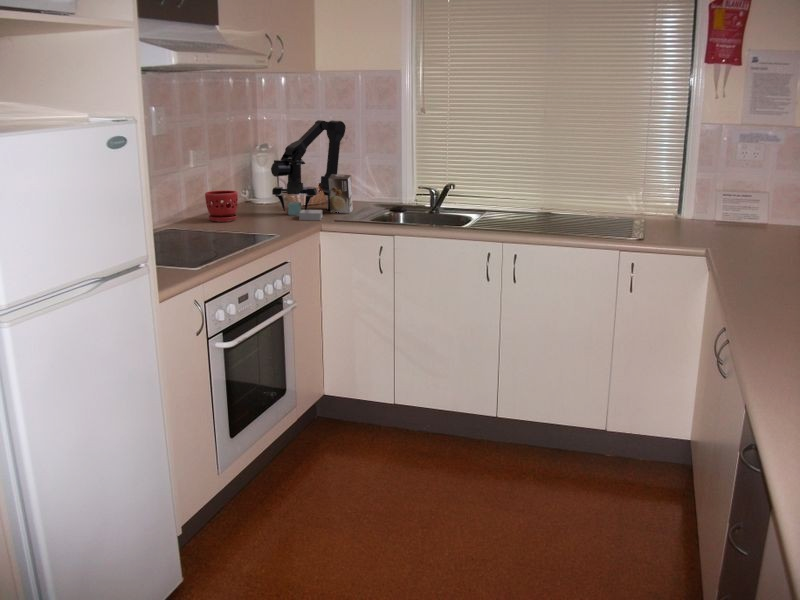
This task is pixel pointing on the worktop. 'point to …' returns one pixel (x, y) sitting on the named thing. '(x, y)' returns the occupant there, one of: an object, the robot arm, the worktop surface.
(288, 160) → the robot arm
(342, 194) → the coffee box
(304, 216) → the stone plinth
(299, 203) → the teal cube
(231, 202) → the plant pot
